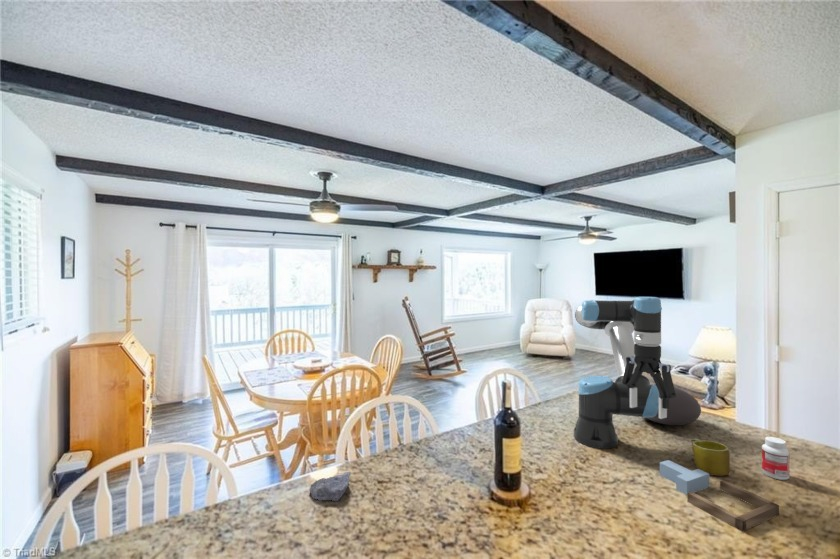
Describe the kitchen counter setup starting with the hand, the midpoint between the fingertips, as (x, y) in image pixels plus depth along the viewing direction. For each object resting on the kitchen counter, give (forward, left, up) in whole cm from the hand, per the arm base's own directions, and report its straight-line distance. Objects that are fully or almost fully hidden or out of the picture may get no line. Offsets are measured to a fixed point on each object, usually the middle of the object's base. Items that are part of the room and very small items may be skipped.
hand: (647, 412), depth 120 cm
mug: (+9, +16, -18) cm, 26 cm away
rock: (-25, -99, -18) cm, 104 cm away
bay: (+24, 0, -18) cm, 29 cm away
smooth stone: (-21, +39, -18) cm, 48 cm away
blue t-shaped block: (+11, 0, -18) cm, 20 cm away
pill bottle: (+20, +30, -18) cm, 40 cm away
